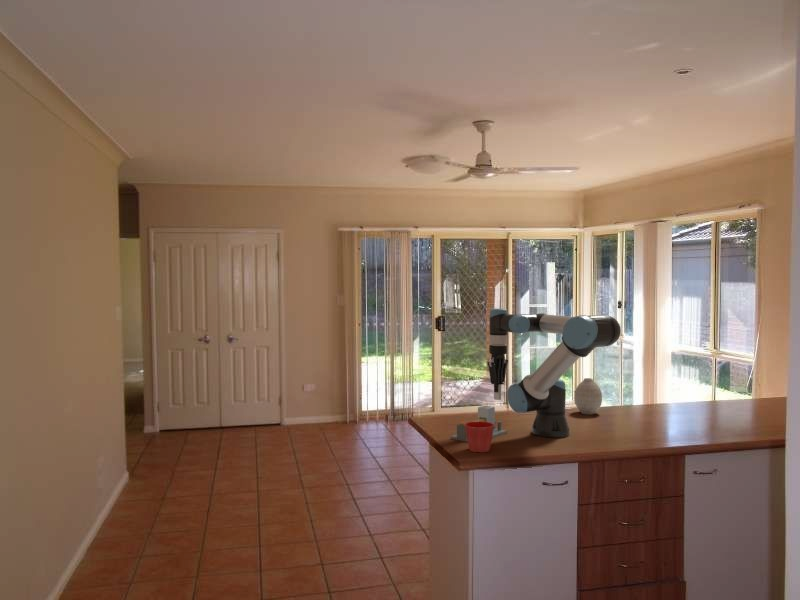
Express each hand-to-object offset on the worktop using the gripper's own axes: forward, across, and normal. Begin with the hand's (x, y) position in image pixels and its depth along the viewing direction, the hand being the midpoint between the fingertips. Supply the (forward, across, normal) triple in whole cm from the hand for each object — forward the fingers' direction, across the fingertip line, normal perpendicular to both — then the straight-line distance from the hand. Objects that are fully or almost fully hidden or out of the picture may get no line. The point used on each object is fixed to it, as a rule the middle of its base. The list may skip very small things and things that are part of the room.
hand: (497, 399), depth 272 cm
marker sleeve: (+10, +9, 0) cm, 14 cm away
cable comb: (+13, +16, +1) cm, 20 cm away
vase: (+13, -56, +15) cm, 60 cm away
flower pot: (+13, +34, +13) cm, 38 cm away
